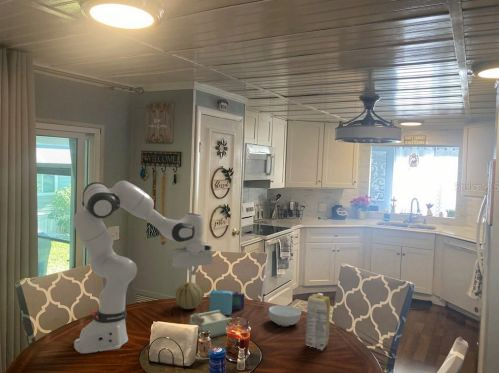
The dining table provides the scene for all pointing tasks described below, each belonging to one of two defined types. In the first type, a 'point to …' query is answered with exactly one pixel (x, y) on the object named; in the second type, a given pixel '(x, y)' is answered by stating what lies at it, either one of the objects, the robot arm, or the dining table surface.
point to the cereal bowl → (284, 315)
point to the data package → (221, 301)
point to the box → (212, 324)
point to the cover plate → (207, 318)
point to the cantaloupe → (188, 295)
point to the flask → (237, 300)
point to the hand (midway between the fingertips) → (192, 274)
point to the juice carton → (317, 321)
